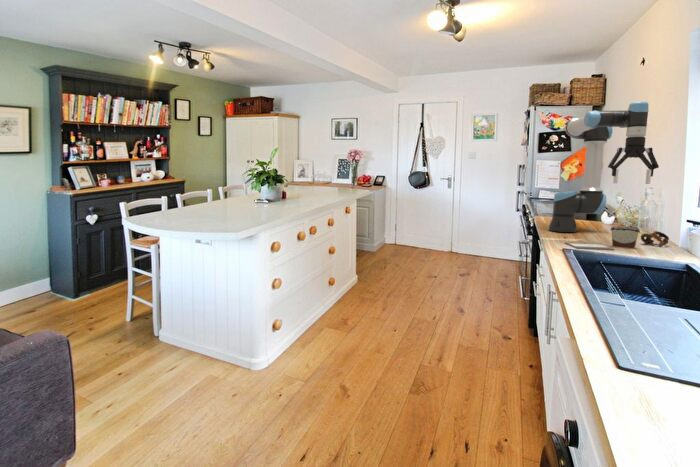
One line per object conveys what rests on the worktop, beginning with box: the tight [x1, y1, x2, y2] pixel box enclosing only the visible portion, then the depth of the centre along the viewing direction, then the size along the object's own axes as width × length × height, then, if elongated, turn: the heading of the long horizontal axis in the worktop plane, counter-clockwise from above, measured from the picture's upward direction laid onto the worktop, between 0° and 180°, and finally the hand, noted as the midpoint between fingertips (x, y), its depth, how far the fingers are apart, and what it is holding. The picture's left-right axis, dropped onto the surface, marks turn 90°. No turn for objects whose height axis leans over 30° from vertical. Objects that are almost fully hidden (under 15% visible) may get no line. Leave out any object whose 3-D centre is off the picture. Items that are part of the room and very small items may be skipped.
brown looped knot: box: [640, 230, 670, 248], centre depth 217 cm, size 12×9×8 cm
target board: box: [564, 242, 615, 251], centre depth 210 cm, size 18×16×1 cm
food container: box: [609, 225, 641, 250], centre depth 210 cm, size 12×6×10 cm, turn 47°
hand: (631, 183), depth 199 cm, fingers open, 13 cm apart
